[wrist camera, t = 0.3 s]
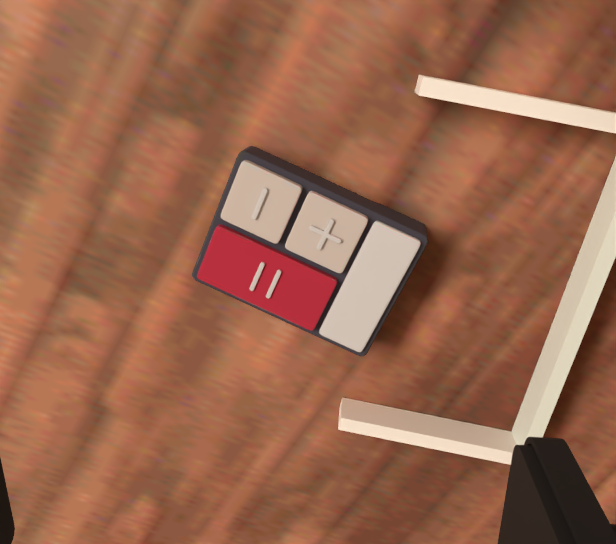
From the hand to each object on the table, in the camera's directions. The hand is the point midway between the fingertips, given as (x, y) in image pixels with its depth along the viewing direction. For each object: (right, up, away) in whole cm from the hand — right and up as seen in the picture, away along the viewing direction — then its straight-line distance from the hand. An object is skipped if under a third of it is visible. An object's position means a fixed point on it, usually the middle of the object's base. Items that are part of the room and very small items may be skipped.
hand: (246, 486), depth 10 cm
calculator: (+1, +6, +36) cm, 37 cm away
